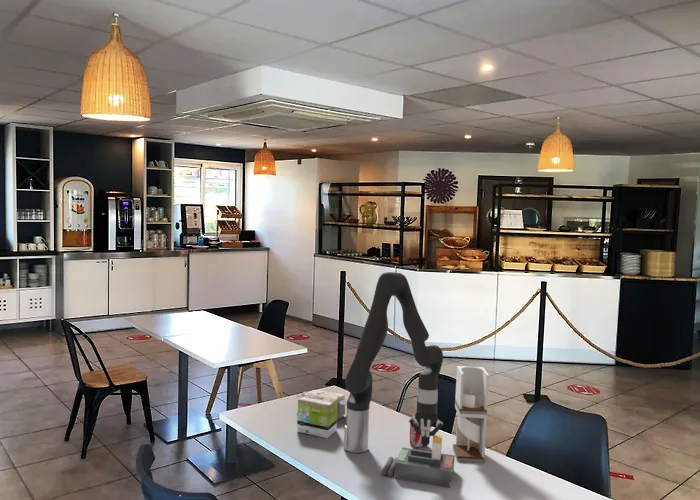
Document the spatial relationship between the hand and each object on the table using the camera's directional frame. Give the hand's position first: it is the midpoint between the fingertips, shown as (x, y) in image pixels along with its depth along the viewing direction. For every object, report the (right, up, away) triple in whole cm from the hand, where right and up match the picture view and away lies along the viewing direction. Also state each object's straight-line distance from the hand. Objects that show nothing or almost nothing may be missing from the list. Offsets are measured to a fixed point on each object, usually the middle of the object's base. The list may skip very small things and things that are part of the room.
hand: (425, 445), depth 214 cm
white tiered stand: (+20, -11, +19) cm, 29 cm away
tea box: (-42, -7, +38) cm, 57 cm away
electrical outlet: (-40, -6, +59) cm, 72 cm away
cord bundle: (-12, -10, +4) cm, 17 cm away
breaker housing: (0, -11, +1) cm, 11 cm away
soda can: (+1, -9, +28) cm, 29 cm away
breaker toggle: (+4, -5, -1) cm, 7 cm away
